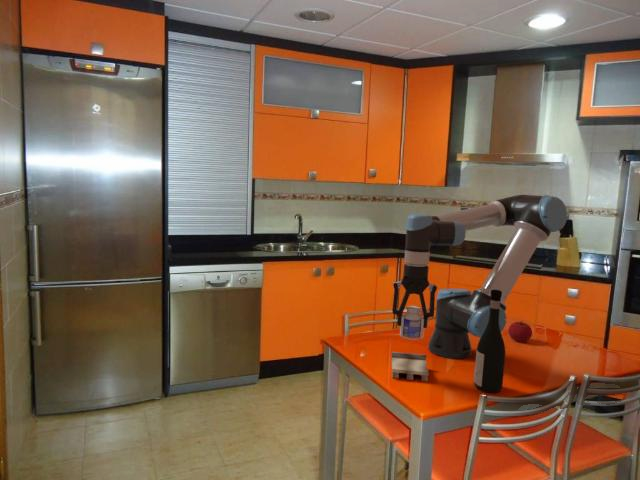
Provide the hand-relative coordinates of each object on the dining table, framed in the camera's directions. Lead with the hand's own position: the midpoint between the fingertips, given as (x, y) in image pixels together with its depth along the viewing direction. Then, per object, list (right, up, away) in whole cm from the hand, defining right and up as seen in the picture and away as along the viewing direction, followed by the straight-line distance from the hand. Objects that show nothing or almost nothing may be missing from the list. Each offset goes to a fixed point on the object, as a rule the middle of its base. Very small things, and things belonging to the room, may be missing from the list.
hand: (411, 336), depth 147 cm
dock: (0, -12, +1) cm, 12 cm away
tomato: (+51, -10, +39) cm, 65 cm away
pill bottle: (0, -1, 0) cm, 1 cm away
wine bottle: (+22, -14, -7) cm, 27 cm away
